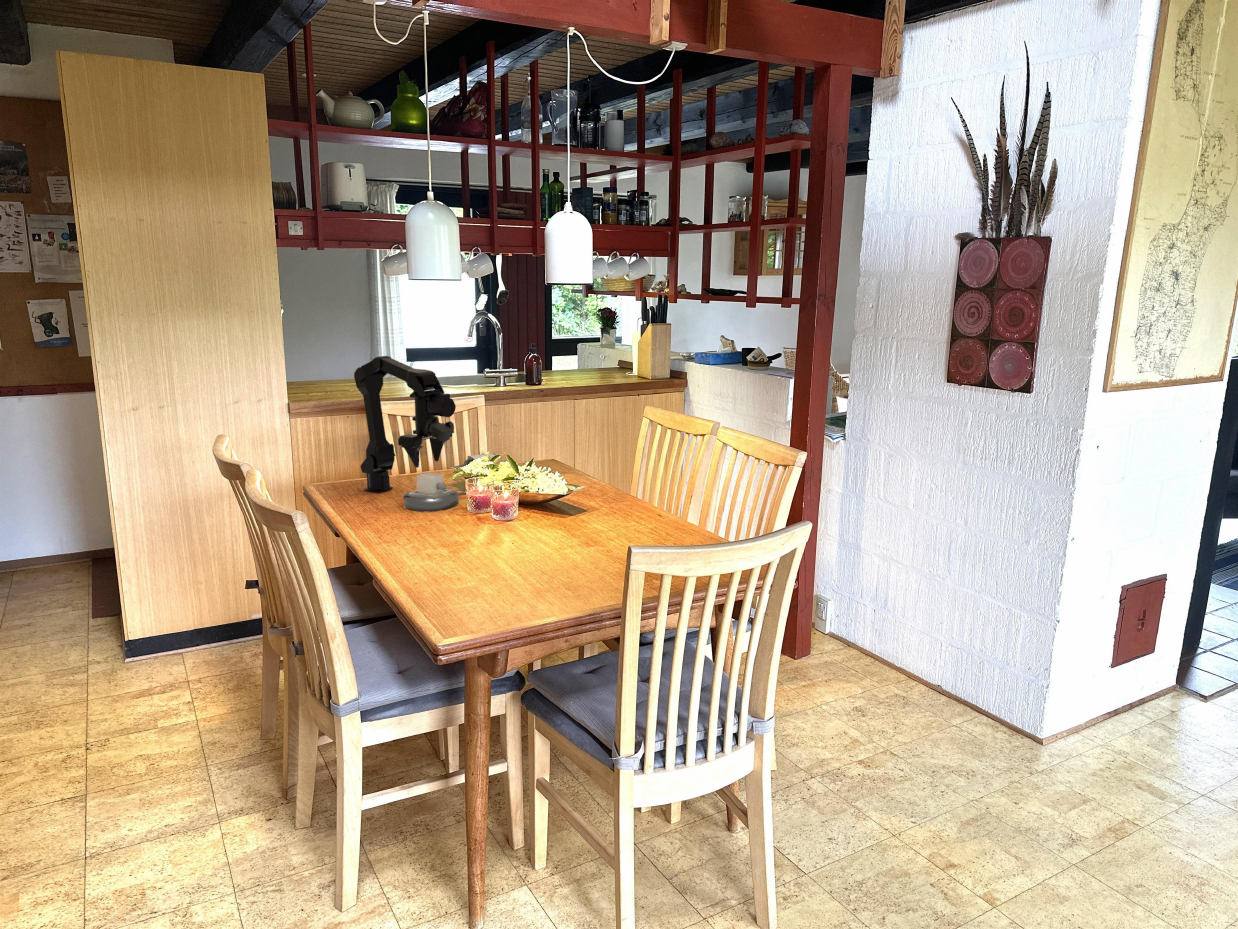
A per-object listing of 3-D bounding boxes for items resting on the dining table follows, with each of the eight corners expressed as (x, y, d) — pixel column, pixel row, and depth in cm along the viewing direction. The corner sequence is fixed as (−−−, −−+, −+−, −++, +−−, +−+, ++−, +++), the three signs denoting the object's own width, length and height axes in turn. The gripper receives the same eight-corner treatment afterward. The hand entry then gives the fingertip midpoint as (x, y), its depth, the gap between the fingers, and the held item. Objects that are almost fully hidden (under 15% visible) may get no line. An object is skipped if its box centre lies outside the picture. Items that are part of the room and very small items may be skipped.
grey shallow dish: (392, 507, 253) (392, 494, 252) (427, 494, 267) (426, 482, 266) (436, 514, 246) (435, 500, 245) (469, 501, 260) (468, 488, 259)
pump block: (417, 495, 255) (416, 475, 253) (428, 491, 259) (427, 472, 258) (439, 498, 251) (438, 478, 250) (449, 494, 256) (448, 475, 254)
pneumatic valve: (464, 489, 273) (463, 453, 271) (498, 485, 279) (497, 449, 276) (469, 493, 269) (468, 456, 266) (504, 489, 274) (503, 452, 271)
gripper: (426, 420, 241) (428, 474, 245) (465, 411, 258) (467, 461, 261) (395, 417, 246) (398, 469, 250) (436, 408, 262) (438, 457, 266)
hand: (426, 464), depth 257 cm, fingers open, 9 cm apart
